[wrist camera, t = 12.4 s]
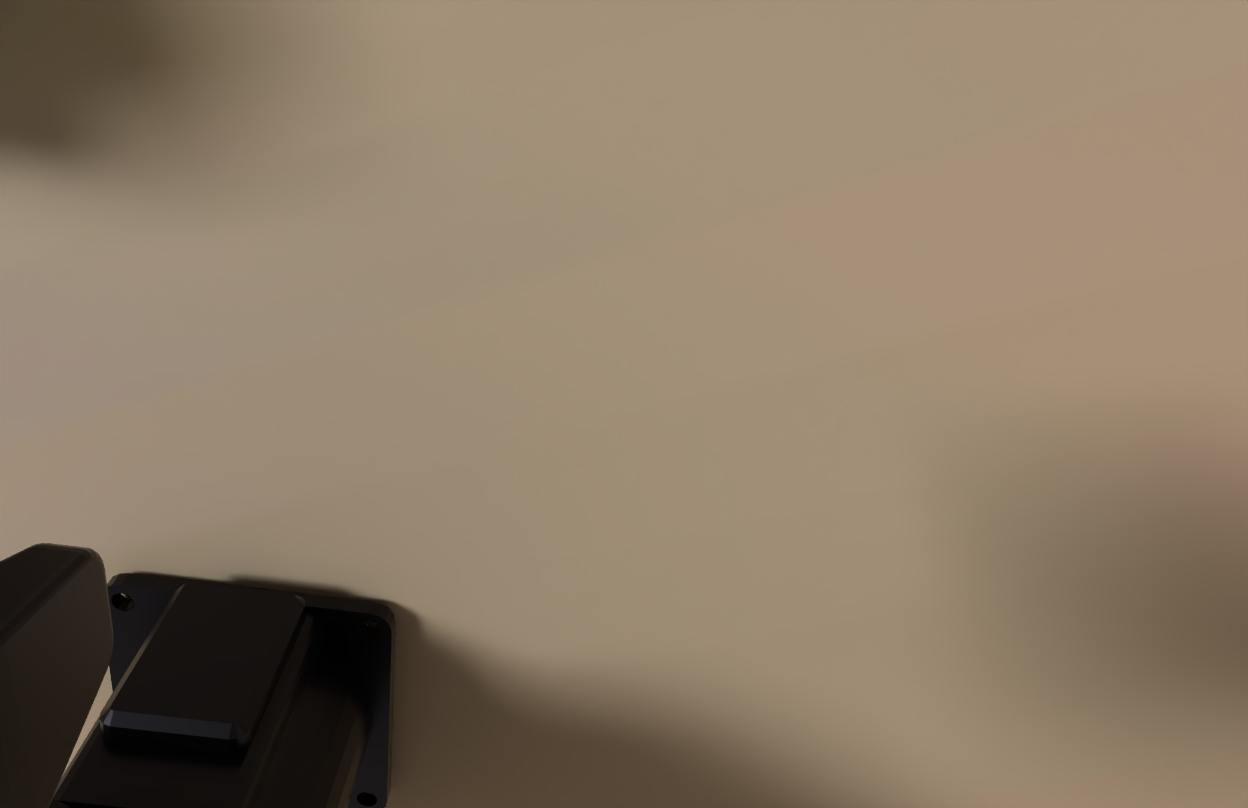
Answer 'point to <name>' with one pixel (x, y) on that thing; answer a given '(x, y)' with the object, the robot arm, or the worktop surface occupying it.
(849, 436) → the worktop surface
